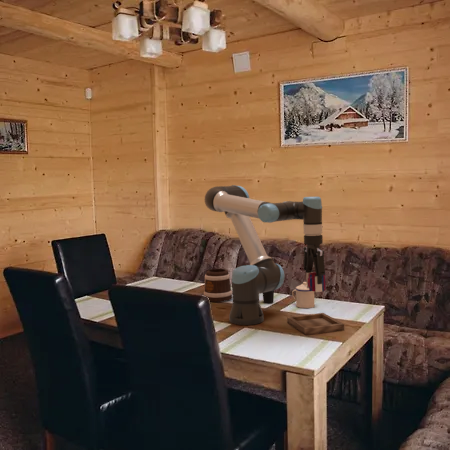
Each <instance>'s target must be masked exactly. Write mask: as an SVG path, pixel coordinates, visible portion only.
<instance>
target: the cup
mask: <svg viewBox="0 0 450 450" xmlns="http://www.w3.org/2000/svg"><path fill="white" fill-rule="evenodd" d="M315 275H316V272H315V271H313V273H309V278H308V287H309V290H310V291H314V292H315ZM326 289H327V287H326V274H325V275H323V276H322V292H325V291H326Z"/></svg>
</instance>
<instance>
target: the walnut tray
mask: <svg viewBox="0 0 450 450" xmlns="http://www.w3.org/2000/svg"><path fill="white" fill-rule="evenodd" d="M286 318H287V319H286V321H287V322H286V323H287V324H289V325H290V326H291V327H293V328H295V329H296V330H297V331H299V332H300V333H301V334H303V335H305V336H309V335H318V334H327V333H334V332H339V331H340V332H342V331H345V323H343V322H341V321H340V320H337V319H336V318H334V317H332V316H330V315H328V314H326V313H325V312H319V313H311V314H302V315H293V316H292V315H291V316H287V317H286Z"/></svg>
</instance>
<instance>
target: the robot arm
mask: <svg viewBox="0 0 450 450" xmlns="http://www.w3.org/2000/svg"><path fill="white" fill-rule="evenodd" d="M204 203H205V206H206V207H207V209H208V210H211V211H213V212H218V213H224V214H225V216H226V218H228V219H230V220H231V223H232V225H233V227H234V229H235V231H236V234H237V236H238V239H239V241H240V243H241V246H242V248H243V250H244V252H245V254H246V257H247V259H248V262H249V264H247V265H240V266H238V267H236V268H233V270H232V273H231V290H232V303H231V304H232V305H231V308H230V312H229V315H228V322H230V323H231V324H234V325H239V326H250V325H252V326H253V325H258V324H261V323H263V322H264V321H265V318H264V317H265V315H264V313H263V310H262V306H261V304H260V295H261V294H263V293H264V292H268V291H274V292H275V290H278V289H280V288H281V287H282V286H283V284H284V280H285V271H284V269H283V267H282V266H281V265H280V264H278V263H275V262H274V259H273V257H271V256H268V254H267V252H266V249H265V248H264V245H263V243H262V241H261V238H260V236H259V234H258V232H257V229H256V228H255V226H254V222H253V221H252V219H251V218H255V219H259V220H260V222H262V223H269V224H271V223H274V222H281V221H282V222H285V221H290V220H301V221H303V222H302V223H303V234H304V235H303V244H304V245H306V246H303V248H302V249H303V271H305V273H306V274H305V275H306V282H307V288H309V287H308V278H309V273H313V272H316V275H315V291H314V293H320V292H323V291H322V276H323V275H325V276H326V270H325V269H326V268H325V251H324V250H321V247H320V245H322V244H323V243H324V242H323V239H324V238H323V203H322V198H321V197H320V196H304V197H303V198H302V201H291V200H289V201H288V200H287V201H282V202H270V201H264V200H260V199H259V200H258V199H253V198H250V194H249V192H248V190H247V189H246V188H245V187H243V186H241V185H233V184H232V185H227V186H226V185H224V186H223V185H220V186H213V187H211V188H209V189H208V190H206V193H205V195H204ZM313 267H314V268H313ZM313 269H314V270H315V271H314V270H313Z"/></svg>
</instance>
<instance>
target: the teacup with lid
mask: <svg viewBox="0 0 450 450" xmlns="http://www.w3.org/2000/svg"><path fill="white" fill-rule="evenodd" d="M291 296H292V298H293V299H294V300H295V302H296V303H295V305H296V307H297V308H300V309H311V308H314V307H315V291H310V290H309V288H307V281H303V282H302V283H301V284H300V285H297V286H295V289H293V290H292V291H291Z"/></svg>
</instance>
